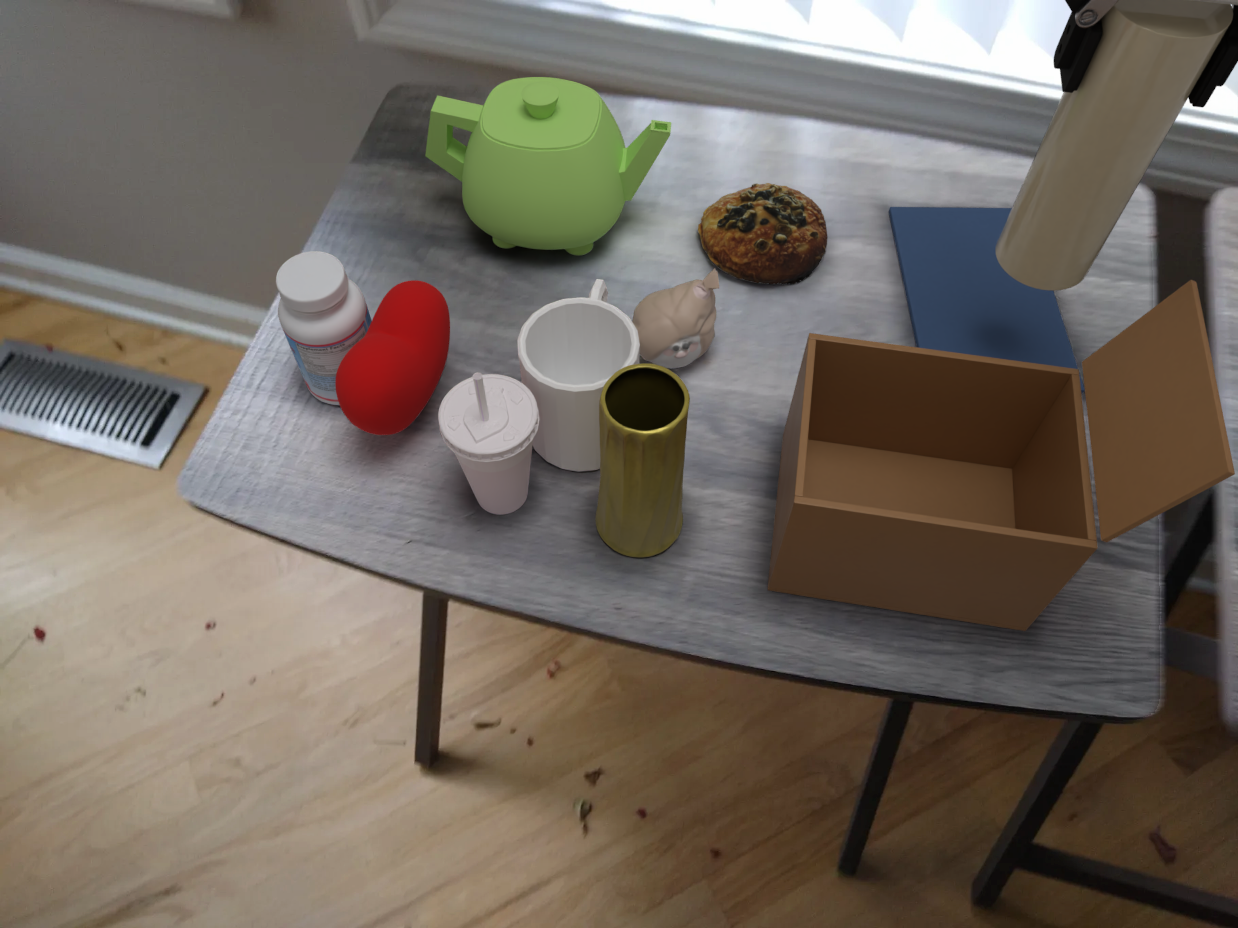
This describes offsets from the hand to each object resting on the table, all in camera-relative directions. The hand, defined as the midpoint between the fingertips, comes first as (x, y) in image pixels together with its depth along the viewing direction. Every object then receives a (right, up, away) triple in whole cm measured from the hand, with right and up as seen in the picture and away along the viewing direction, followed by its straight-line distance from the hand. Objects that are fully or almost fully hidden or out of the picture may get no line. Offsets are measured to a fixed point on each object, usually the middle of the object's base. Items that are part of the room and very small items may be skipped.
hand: (1130, 83), depth 57 cm
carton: (-10, -27, +12) cm, 31 cm away
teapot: (-36, -1, +29) cm, 46 cm away
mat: (0, -8, +24) cm, 25 cm away
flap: (0, -19, -3) cm, 19 cm away
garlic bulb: (-26, -13, +21) cm, 35 cm away
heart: (-45, -18, +17) cm, 52 cm away
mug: (-32, -18, +18) cm, 41 cm away
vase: (-28, -26, +12) cm, 40 cm away
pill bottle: (-51, -16, +19) cm, 56 cm away
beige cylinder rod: (0, -8, +12) cm, 14 cm away
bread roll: (-17, -3, +27) cm, 32 cm away
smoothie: (-38, -24, +13) cm, 47 cm away
